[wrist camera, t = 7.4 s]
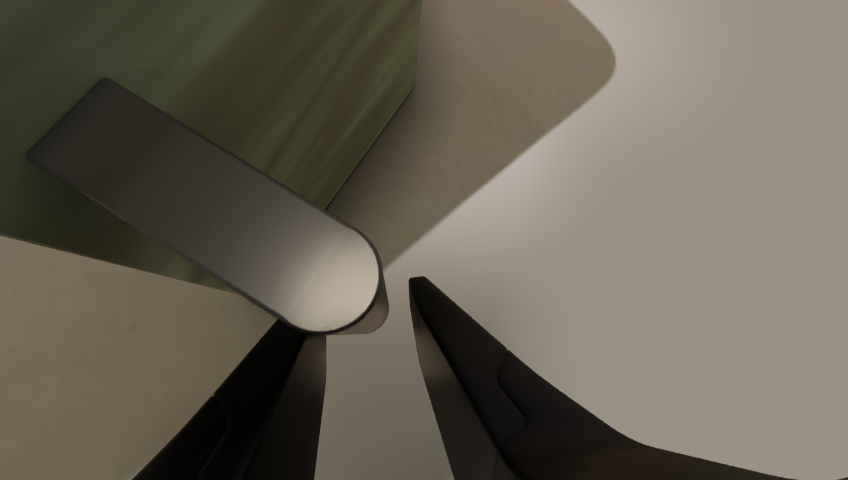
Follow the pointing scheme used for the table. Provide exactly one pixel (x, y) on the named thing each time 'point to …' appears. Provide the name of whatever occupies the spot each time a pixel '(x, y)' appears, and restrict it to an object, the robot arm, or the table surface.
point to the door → (205, 141)
